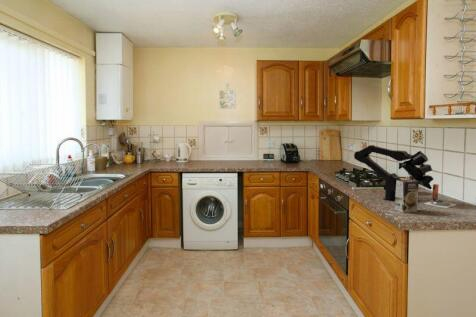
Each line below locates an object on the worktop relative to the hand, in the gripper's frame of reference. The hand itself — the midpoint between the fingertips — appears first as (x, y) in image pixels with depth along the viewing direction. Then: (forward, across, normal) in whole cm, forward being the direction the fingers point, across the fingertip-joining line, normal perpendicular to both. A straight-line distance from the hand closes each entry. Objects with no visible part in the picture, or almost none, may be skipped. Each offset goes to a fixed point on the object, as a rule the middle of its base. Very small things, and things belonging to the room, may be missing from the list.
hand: (430, 188), depth 197 cm
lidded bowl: (+4, +26, +8) cm, 28 cm away
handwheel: (+8, -4, +3) cm, 10 cm away
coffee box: (-9, -20, +21) cm, 30 cm away
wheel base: (+8, -4, +3) cm, 10 cm away
